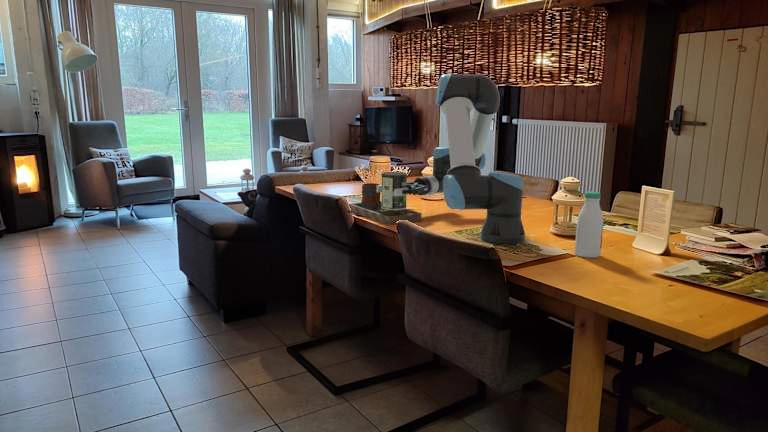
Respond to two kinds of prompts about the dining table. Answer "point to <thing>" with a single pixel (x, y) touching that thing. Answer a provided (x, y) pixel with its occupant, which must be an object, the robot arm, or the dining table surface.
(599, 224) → the milk bottle
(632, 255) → the dining table surface
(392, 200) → the coffee can
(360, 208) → the caddy
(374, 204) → the mug
